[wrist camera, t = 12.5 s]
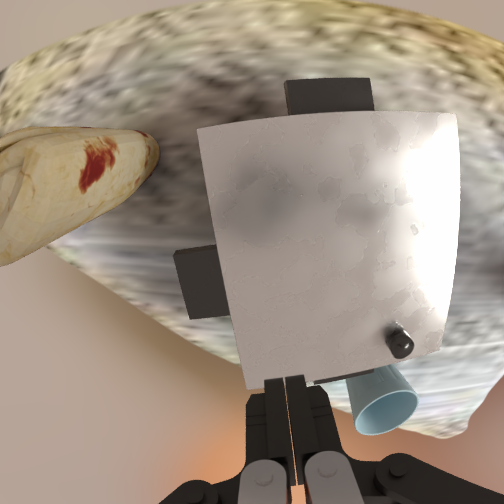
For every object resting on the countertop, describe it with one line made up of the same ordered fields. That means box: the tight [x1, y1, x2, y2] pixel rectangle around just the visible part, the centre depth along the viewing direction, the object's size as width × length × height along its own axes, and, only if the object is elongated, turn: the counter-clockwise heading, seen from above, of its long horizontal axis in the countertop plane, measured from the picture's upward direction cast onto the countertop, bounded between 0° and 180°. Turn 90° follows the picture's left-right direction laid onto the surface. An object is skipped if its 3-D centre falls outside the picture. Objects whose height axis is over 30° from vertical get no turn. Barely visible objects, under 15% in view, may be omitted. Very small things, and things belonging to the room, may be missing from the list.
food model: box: [0, 127, 160, 267], centre depth 19 cm, size 10×7×20 cm
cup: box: [346, 364, 419, 435], centre depth 33 cm, size 8×8×10 cm
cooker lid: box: [173, 111, 460, 390], centre depth 20 cm, size 21×20×2 cm
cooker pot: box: [284, 78, 374, 385], centre depth 26 cm, size 18×26×10 cm
